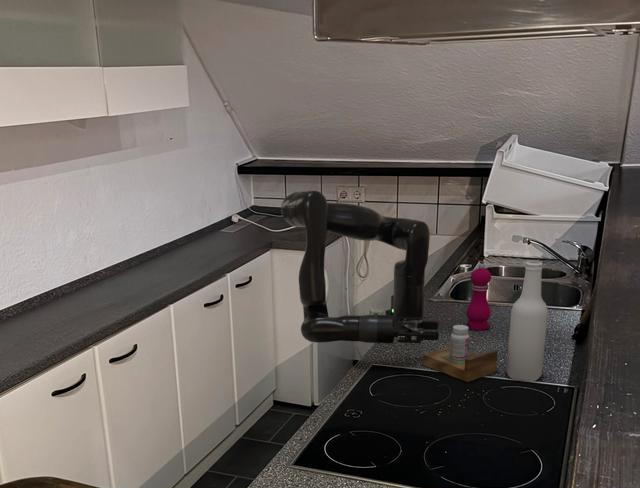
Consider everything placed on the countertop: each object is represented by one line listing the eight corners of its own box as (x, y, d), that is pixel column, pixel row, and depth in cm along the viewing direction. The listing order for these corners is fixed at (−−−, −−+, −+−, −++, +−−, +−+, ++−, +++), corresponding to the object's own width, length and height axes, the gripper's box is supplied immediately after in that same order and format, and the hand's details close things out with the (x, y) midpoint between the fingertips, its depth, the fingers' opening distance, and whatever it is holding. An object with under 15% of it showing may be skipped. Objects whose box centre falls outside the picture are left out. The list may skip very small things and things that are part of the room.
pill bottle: (468, 360, 200) (470, 330, 197) (449, 360, 201) (451, 329, 198) (467, 354, 204) (469, 324, 201) (449, 353, 205) (451, 323, 202)
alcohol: (541, 383, 192) (553, 267, 181) (505, 380, 195) (515, 265, 184) (541, 370, 200) (553, 258, 189) (506, 368, 203) (516, 257, 192)
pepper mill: (485, 332, 230) (490, 267, 223) (462, 328, 234) (466, 264, 226) (492, 325, 236) (497, 262, 228) (469, 322, 239) (473, 259, 232)
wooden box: (422, 364, 207) (423, 343, 205) (450, 355, 213) (451, 335, 210) (467, 382, 194) (468, 360, 192) (496, 372, 200) (497, 350, 198)
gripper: (375, 323, 196) (439, 325, 193) (378, 307, 209) (438, 309, 206) (374, 351, 198) (438, 353, 196) (377, 333, 211) (437, 335, 209)
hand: (438, 330), depth 201 cm, fingers open, 8 cm apart
